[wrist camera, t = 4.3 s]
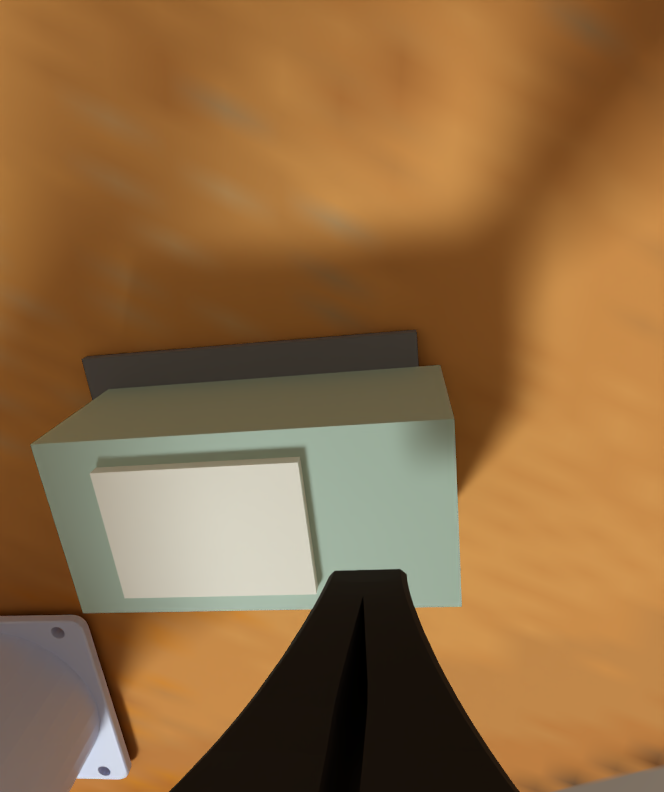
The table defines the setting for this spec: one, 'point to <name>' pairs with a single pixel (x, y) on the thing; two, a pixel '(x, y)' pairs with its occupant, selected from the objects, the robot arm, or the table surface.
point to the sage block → (256, 490)
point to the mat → (252, 360)
